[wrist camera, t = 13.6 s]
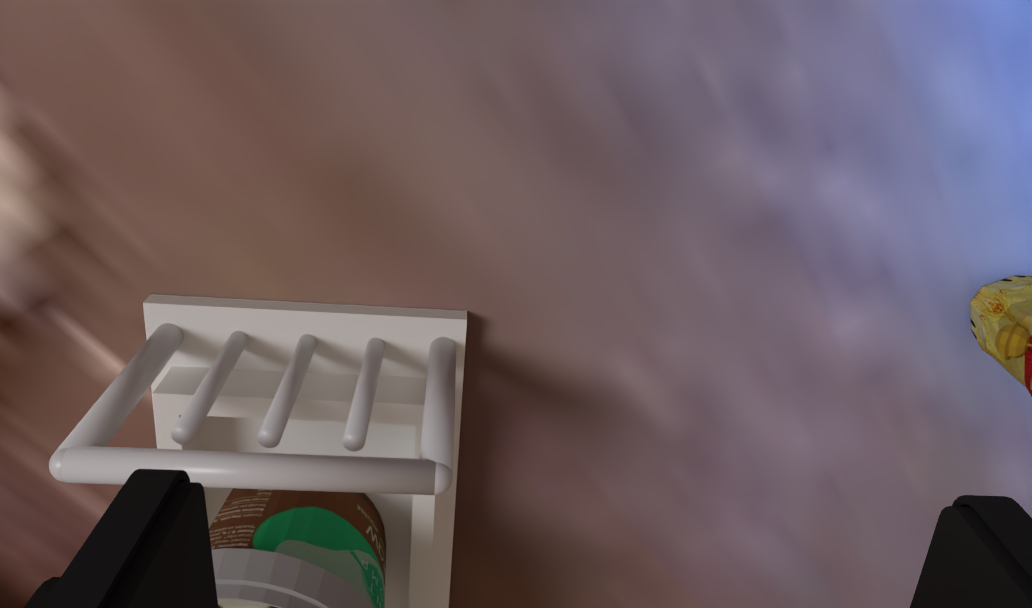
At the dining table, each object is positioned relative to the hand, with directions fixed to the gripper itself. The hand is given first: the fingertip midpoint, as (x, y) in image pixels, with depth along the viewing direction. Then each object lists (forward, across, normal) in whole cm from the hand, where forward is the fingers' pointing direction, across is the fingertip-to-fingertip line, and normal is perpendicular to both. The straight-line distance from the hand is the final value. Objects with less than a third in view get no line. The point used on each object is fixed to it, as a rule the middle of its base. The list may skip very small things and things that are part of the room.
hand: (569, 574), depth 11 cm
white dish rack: (+26, +9, +20) cm, 34 cm away
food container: (+25, +8, +20) cm, 33 cm away
